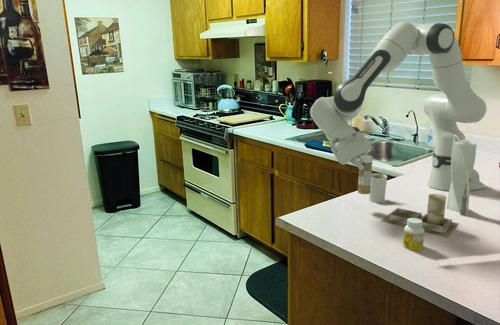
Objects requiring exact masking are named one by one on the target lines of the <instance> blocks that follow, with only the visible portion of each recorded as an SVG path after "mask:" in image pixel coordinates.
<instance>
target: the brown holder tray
mask: <svg viewBox="0 0 500 325" xmlns="http://www.w3.org/2000/svg"><path fill="white" fill-rule="evenodd" d="M408 218H418V219H420V220H422V227H423V229H424V233H428V234H432V235H437V236H441V237H445V238H449V237H450V236H451V234H452V233H453V232H454V231H455V230H456V228H457V227H458V226H459V224H460V222H459V223H458V222H454V221H453V219H452V218H446V217H444V223H443V227H442V226H438V225H433V224H429V223H426V220H427V213H425V214H424V215H423V214H422V212H419V211H415V210H408V209H405V208H400V207H397V208H395V209H394V210H393V211H391V212H390V213H389V214H387V215H386V216H385V217H384V218H383V219H382V220H380V222H382V223H386V224H391V225H394V226H398V227H403V228H405V226H406V225H407V219H408Z"/></svg>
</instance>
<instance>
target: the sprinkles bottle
mask: <svg viewBox="0 0 500 325" xmlns="http://www.w3.org/2000/svg"><path fill="white" fill-rule="evenodd" d="M373 158H374V157H373V156H372V155H370V154H368V155H361V156H359V158H358V161H360V162H361V163H363V164H364V165H365V166H366V167H365V168H364V169H363V170H360V169H359V168H358V179H357V180H358V181H357V182H358V183H357V186H358V189H357V193H358V194H360V195H369V194H370V193H371V191H370V189H371V174H373V173H372V171H373V169H372V168H373Z"/></svg>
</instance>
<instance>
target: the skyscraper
mask: <svg viewBox="0 0 500 325" xmlns="http://www.w3.org/2000/svg"><path fill="white" fill-rule="evenodd" d="M455 136H456V135H454V136H453V147H452V155H451V179H452V181H451V185H450V190H449V191H448V196H447V200H446V201H447V202H446V207H445V210H450V211H452V212H456V213H459V215H460V216H464V217H465V216H466V212H467V211H469V208H470V207H469V206H470V205H469V204H470V191H469V179H470V176H471V174H472V171H473V169H474V167H475V163H476V155H477V142H476V141H474V140H473V139H469V140H468V139H465V140H460V139H459V138H458V136H456V137H457V138H458V141H459V142H455Z"/></svg>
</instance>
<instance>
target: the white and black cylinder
mask: <svg viewBox="0 0 500 325" xmlns="http://www.w3.org/2000/svg"><path fill="white" fill-rule="evenodd" d="M387 180H388V175H386V174H384V173H378V172H377V173H375V172H374V173H372V174H371V189H370V191H371V193H370V194H368V200H369V201H370V202H372V203H377V204H379V203H380V204H381V203H384V202H385V199H386V191H387V190H386V188H387Z"/></svg>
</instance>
